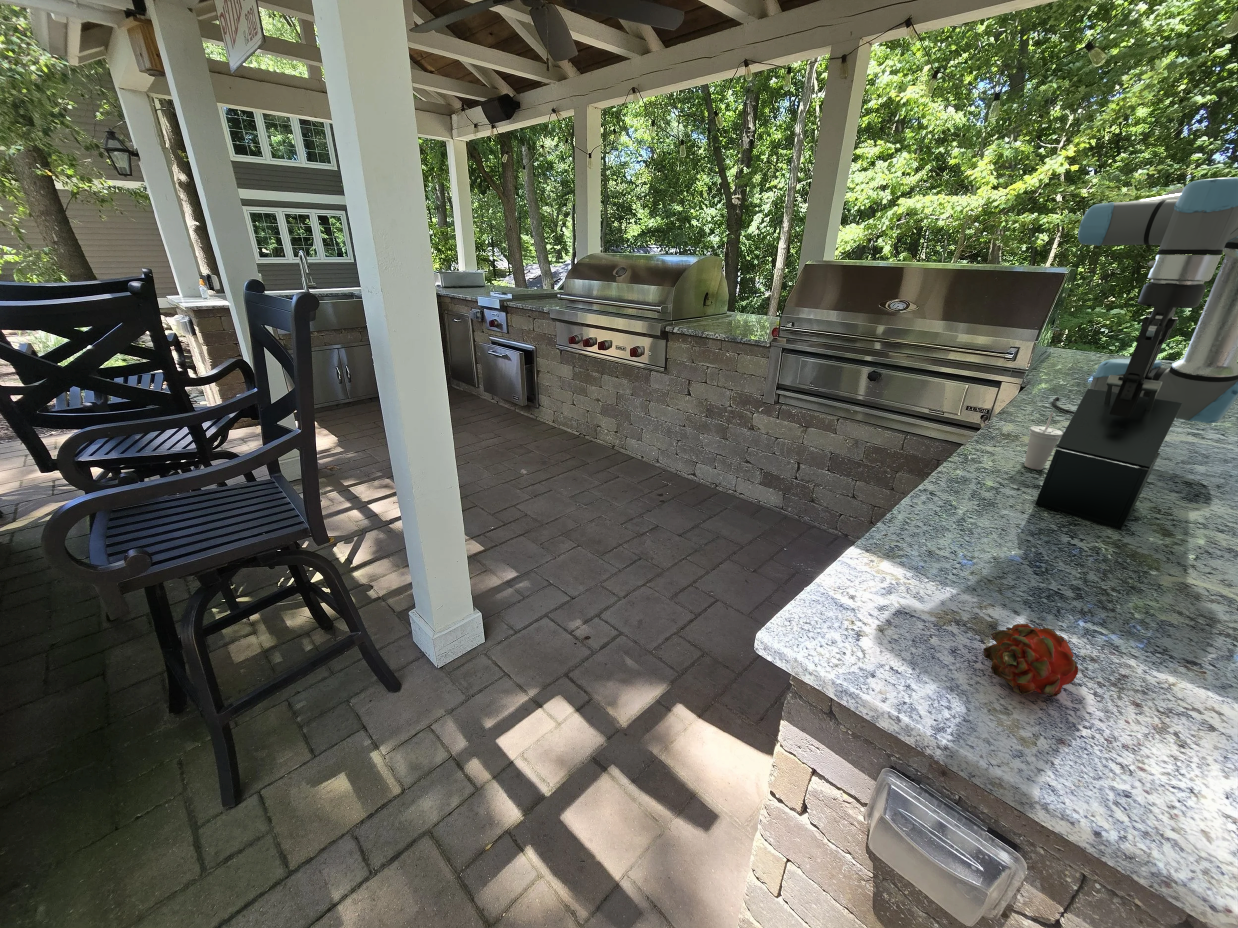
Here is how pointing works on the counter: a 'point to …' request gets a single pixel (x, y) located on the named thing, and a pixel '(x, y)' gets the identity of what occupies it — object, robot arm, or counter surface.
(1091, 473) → the trash can
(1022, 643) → the dragon fruit
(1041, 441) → the smoothie
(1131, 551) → the counter surface
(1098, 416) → the trash lid
